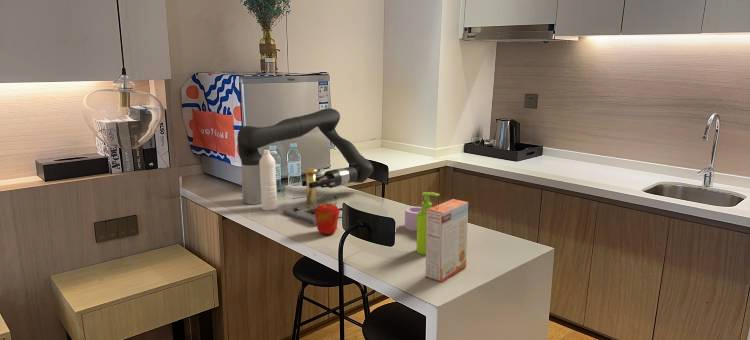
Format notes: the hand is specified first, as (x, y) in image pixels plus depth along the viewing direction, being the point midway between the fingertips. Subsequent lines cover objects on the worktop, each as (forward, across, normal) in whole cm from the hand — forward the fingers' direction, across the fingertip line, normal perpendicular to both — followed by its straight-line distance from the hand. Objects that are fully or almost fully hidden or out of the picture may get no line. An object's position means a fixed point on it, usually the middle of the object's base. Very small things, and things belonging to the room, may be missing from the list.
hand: (306, 184), depth 209 cm
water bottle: (+10, -11, +11) cm, 18 cm away
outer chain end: (+6, +14, +11) cm, 18 cm away
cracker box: (+11, +79, +11) cm, 80 cm away
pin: (-3, 0, +9) cm, 9 cm away
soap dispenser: (+2, +65, +11) cm, 66 cm away
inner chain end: (+6, +8, +11) cm, 14 cm away
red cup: (+13, +28, +11) cm, 33 cm away
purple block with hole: (-15, +53, +11) cm, 57 cm away
